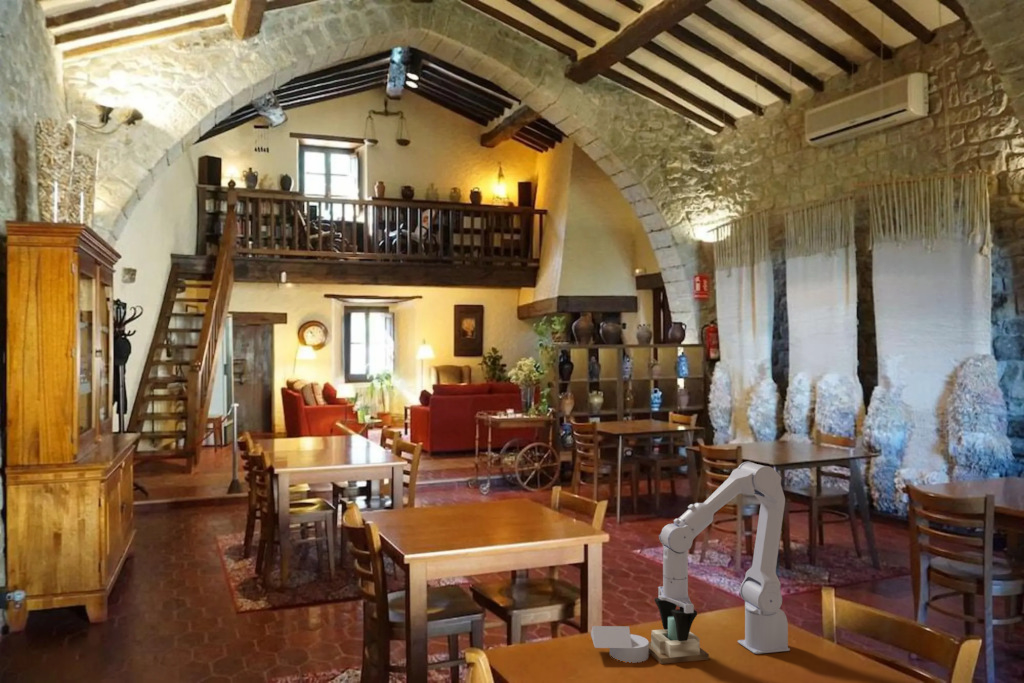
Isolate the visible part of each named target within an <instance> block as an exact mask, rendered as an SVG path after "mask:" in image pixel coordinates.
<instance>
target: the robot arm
mask: <svg viewBox="0 0 1024 683" xmlns="http://www.w3.org/2000/svg"><path fill="white" fill-rule="evenodd" d="M781 483H782V476H781V475H780V474H779V473H778V472H777V471H776V470H775V469H774V468H773V467H772V466H768V465H762V464H759V463H758V464H757V463H755V462H752V461H744V462H742V463H741V464H739V466H738V467H737V468H734V469H733V470H732V472H731V473H730V475H729V476H728V478H726V480H724V481H723V483H722V484H721V485H719V486H718V488H716V490H715V491H713V493H711V495H710V496H709V497H707V499H706V500H704V501H703V502H695V503H691V504H689V505H688V506H687V508H688V509H687V510H686V511H684V513H682V515H680V516H679V517H678V518H675V519H673V523H668V524H666V525H664V527H662V529H661V532H660V534H658V539H659V542H660V543H661V544H662V548H663V550H662V552H663V554H662V583H663V584H662V586H658V587H657V589H658V590H657V591H658V594H657V595H658V597H655V598H654V602H655V605H656V606H657V608H658V612H659V615H660V618H661V624H662V628H663V629H665V630H667V629H668V617H669V616H674V619H675V623H676V631H677V638H678V640H679V641H687V639H688V636H689V632H691V631H690V630H691V628H692V625H693V622H694V620H695V619H696V618H697V616H698V611H697V610H695V606H694V604H693V603H692V602H691V599H690V596H689V594H688V592H689V591H688V590H689V587H688V586H689V584H688V583H689V578H688V577H689V576H688V574H689V571H688V570H689V568H688V565H689V564H688V563H689V557H688V556H689V552H688V551H689V550H690V549H691V548H692V546H693V541H694V539H695V538H696V537H697V536H698V535H699V534H701V533H702V532H703V531H704V530H705V529H706V528H707V527H708V526H710V524H712V523H713V521H714V514H715V513H716V512H718V511H719V510H720V509H722V507H724V506H725V505H726V504H728V503H729V502H730V501H732V500H733V499H734V498H735V497H737V496H738V495H740V494H741V495H742V494H753V495H754V496H755V497H756V499H757V500H758V501H759V503H760V508H759V512H758V513H759V514H758V520H757V528H756V529H757V530H756V535H755V542H754V550H753V557H752V563H751V564H752V565H751V567H750V568H749V569H748V570H746V572H745V576H744V579H743V581H742V582H741V583H740V587H739V595H740V597H741V599H742V600H744V639H738V640H737V643H738V644H739V645H741V646H743V647H744V648H746V649H747V651H748V650H749V651H750V652H751V653H753V654H754V655H759V654H760V655H761V654H769V653H779V652H790V650H791V648H790V647H788V646H789V640H788V638H789V628H788V627H789V626H788V625H789V623H788V617H787V616H786V613H785V612H784V611H783V610H782V609H781V606H782V604H783V596H782V592H781V585H782V584H781V582H780V580H779V577H778V575H777V571H776V570H777V563H778V556H779V548H780V541H781V536H782V526H783V520H784V513H785V512H784V511H785V506H786V505H785V504H786V497H785V494H784V490H783V487H782V484H781ZM677 607H679V609H678V608H677Z"/></svg>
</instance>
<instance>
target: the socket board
mask: <svg viewBox="0 0 1024 683" xmlns="http://www.w3.org/2000/svg"><path fill="white" fill-rule="evenodd" d="M650 637H651V638H650V639H651V640H650V641H648V642H649V656H651V657H652V658H654V659H655V660H656V661H657V662H658V663H659V664H660V665H662V664H672V663H673V664H674V663H675V664H676V663H682V662H684V663H686V662H695V661H705V660H706V661H707V660H710V659H709V658H710V654H709V653H708V652H706V651H705V650H704V649H703V648H701V646H700V645H701V643H700V637H698V636H697V635H696V634H694V633H693V632H691V631H690V632H689V636H688V639H687V641H679V640H673V641H670V640H669V639H668V629H667V630H665V629H664V628H663V629H662V628H661V629H651V634H650Z"/></svg>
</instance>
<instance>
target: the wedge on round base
mask: <svg viewBox="0 0 1024 683" xmlns="http://www.w3.org/2000/svg"><path fill="white" fill-rule="evenodd" d="M630 630H631V629H630V625H628V626H625V625H624V626H623V625H619V626H617V625H608V626H607V625H592V628H591V630H590V637H591V639H592V642H593V643H592V644H593V646H594V648H595V649H609V656H610V655H611V656H612V657H613V658H615V659H618V660H620V661H619V662H621V661H625V662H624V663H627V662H629V664H631V662H632V664H635V663H637V662H638V663H642V661H643V662H646V661H647V660H648V659H649V656H650V654H649V642H650V641H649V640H648V639H647V638H646V637H644V636H641V635H638V634H632V633H631V631H630ZM611 656H610V657H611ZM612 657H611V658H612ZM613 658H612V659H613ZM615 659H614V660H615ZM618 660H617V661H618Z"/></svg>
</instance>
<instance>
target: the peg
mask: <svg viewBox="0 0 1024 683" xmlns="http://www.w3.org/2000/svg"><path fill="white" fill-rule="evenodd" d="M668 639H669V640H670V641H673V640H678V638H677V631H676V623H675V619H674V616H669V617H668Z"/></svg>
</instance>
